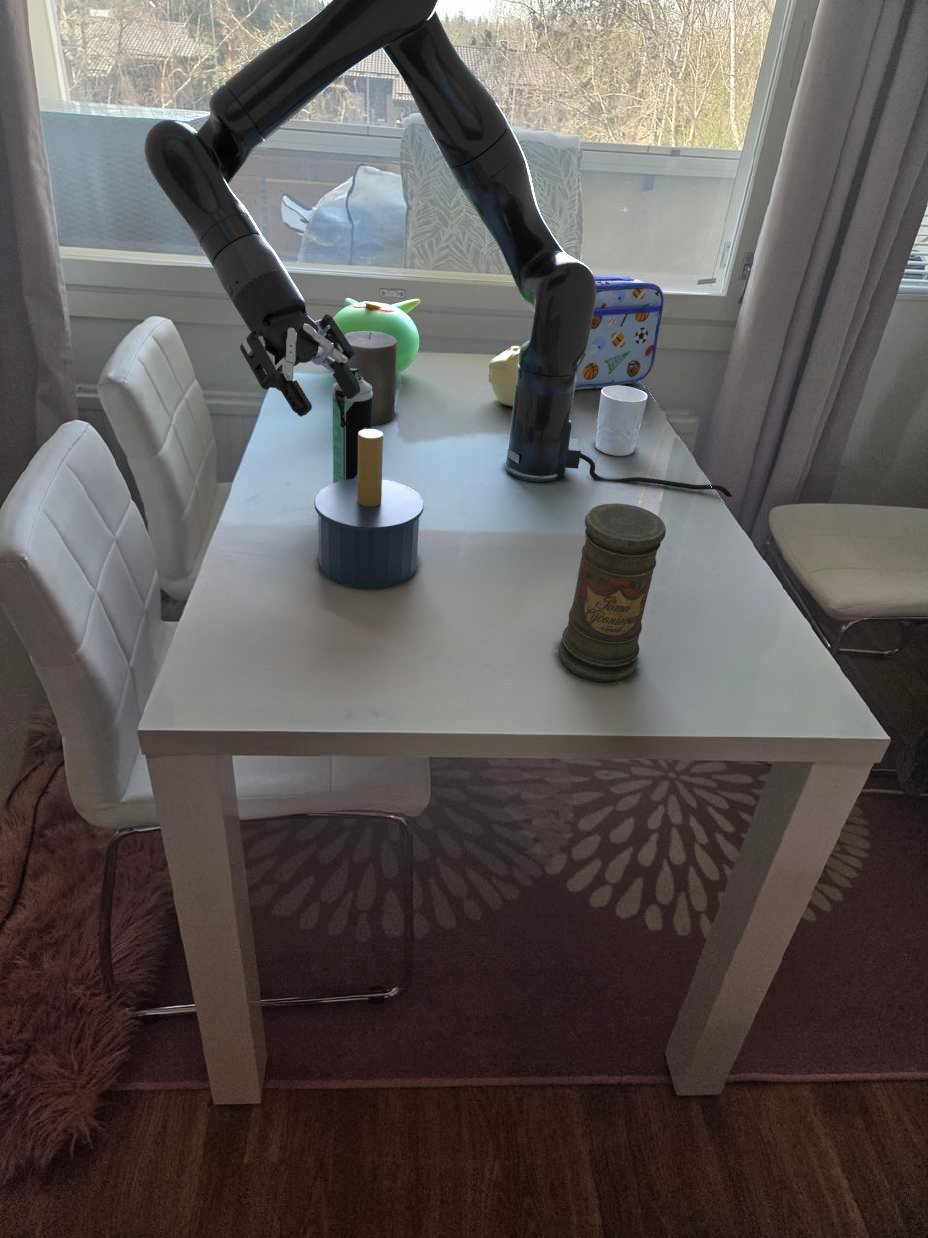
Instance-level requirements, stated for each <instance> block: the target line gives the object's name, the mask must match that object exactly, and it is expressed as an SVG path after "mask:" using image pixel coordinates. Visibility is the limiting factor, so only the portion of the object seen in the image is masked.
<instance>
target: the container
mask: <svg viewBox="0 0 928 1238" xmlns="http://www.w3.org/2000/svg"><path fill="white" fill-rule="evenodd" d="M584 527H585V529H584V530H585V531H584V535H585V541H584V545H583V546H582V548H581V558H580V563H579V569H578V574H577V580H576V585H575V591H574V596H573V601H572V604H571V608H570V610H569V612H568V621H567V626H566V627H565V628H564V629H563V630H562V634H561V640H560V642H559V644H558V655H559V658H560V659H559V660H561V662H562V664H563V665H564V666H565V667H566V668H567V669H568V670H569V671H571V672H572V673H573V674H575V675H577V676H579V677H581V678H583V679H586V680H589V681H593V682H601V683H615V682H620V681H622V680H625V679H627V678H628V677H630V676H631V675H632V674H633V673H634V672H635V670H636V668H637V667H638V664H639V663H638V662H639V654H640V645H639V638H640V635H641V633H642V631H643V630H642V629H643V623H642V621H643V616H644V612H645V609H646V604H647V600H648V595H649V592H650V587H651V582H652V578H653V574H654V570H655V568H656V566H657V553H658V551H659V549H660V547H661V544H662V542H663V541H664V540H665V537H666V533H667V529H666V524H665V522H664V521H663V519H662V517H660V516H659V515H657V514H656V513H654V512H652V511H650V510H648V509H646V508H643V507H641V506H636V505H633V504H628V503H613V502H611V503H603V504H599V505H596V506H594V507H592V508H591V509H590V510H589V511H588V512H587V514H586V516H585V518H584Z"/></svg>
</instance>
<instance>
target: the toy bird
mask: <svg viewBox="0 0 928 1238" xmlns="http://www.w3.org/2000/svg"><path fill="white" fill-rule="evenodd" d="M344 304H345V307H344V308H342V309H340V310H339V311H338V312H337V313H336V314H335V315H334V317H332V318H333V320H334V321H335V323H336V324H337V326H338V327H339V329H340V330H341V332H342V333H343V335H345V334H347V333H351V332H359V331H374V332H380V333H385V334H389V335H391V336H393V337H394V338H396V340H397V361H396V375H397V374H400V373H401V372H404V371H405V370H406V369H408V368H409V367H410V366H411V365H412V364H413V362H414V361H415V359H416V357H417V355H418V352H419V348H420V335H419V330H418V328H417V325H416V324H415V323H414V321H413V319H412V318H411V317H410V316H409V315H408V313H410V311H412V310H413V309H415V308H416V307H418V305H420V304H421V299H419V298H412V299H407V300H405V301H400V302H397V303H392V304H389V303H386V302H376V301H367V300H366V301H360V302H358V301H356V300H355V299H352V298H350V297H346V298H345V299H344ZM338 348H339V349H340V351H341V352H342V348H341V347H340V345H339V344H338Z"/></svg>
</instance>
